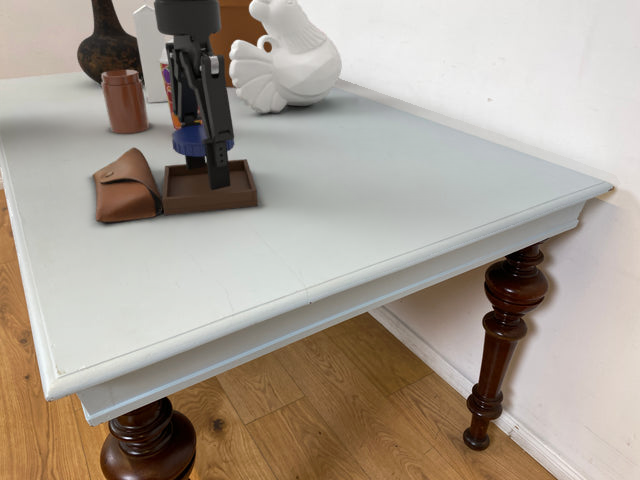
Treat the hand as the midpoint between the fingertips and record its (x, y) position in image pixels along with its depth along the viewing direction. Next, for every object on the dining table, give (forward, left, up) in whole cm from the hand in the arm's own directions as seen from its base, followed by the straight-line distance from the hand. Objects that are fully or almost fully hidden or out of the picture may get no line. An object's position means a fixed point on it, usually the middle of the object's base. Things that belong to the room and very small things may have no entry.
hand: (207, 176), depth 68 cm
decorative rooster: (+19, +44, -3) cm, 48 cm away
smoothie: (-2, +29, -3) cm, 29 cm away
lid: (0, 0, +6) cm, 6 cm away
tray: (0, 0, -2) cm, 2 cm away
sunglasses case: (-12, +2, -3) cm, 12 cm away
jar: (-14, +35, -2) cm, 38 cm away
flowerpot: (+13, +75, -3) cm, 76 cm away
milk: (-9, +58, -3) cm, 59 cm away
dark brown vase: (-21, +80, -3) cm, 83 cm away
